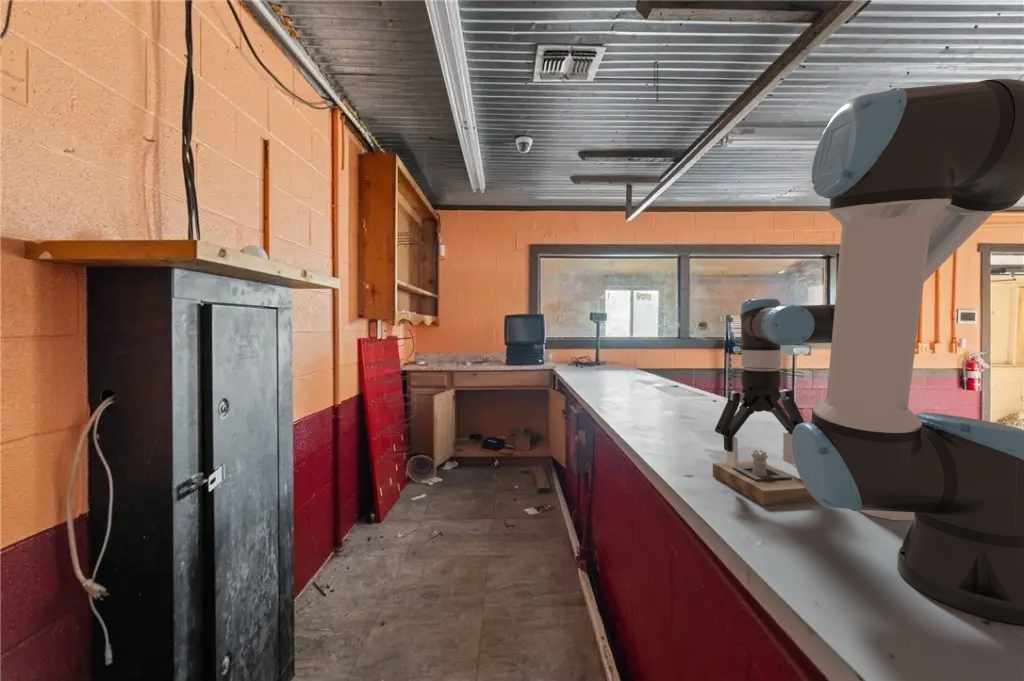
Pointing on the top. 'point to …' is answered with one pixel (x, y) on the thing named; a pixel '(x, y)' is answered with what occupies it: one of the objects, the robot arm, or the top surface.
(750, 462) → the socket board
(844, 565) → the top surface
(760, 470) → the rook chess piece
